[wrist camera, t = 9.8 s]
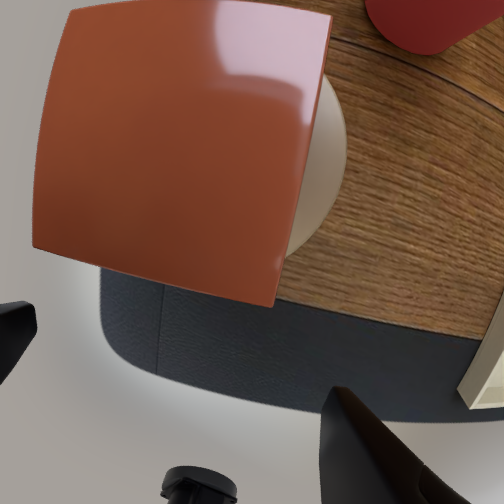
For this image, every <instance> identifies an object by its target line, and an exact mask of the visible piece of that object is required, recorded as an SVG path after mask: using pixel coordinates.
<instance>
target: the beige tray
mask: <svg viewBox="0 0 504 504" xmlns="http://www.w3.org/2000/svg"><path fill="white" fill-rule="evenodd" d="M457 390H458V392H459V393H460V395H461V397H462V398H463V400H464V401H465V403H466V405H467V406H468V408H469V409H481V408H495V407H504V292H503V294H502V297H501V299H500V302H499V304H498V307H497V309H496V312H495V314H494V316H493V319H492V321H491V323H490V326H489V328H488V330H487V332H486V334H485V337H484V339H483V341H482V343H481V345H480V347H479V349H478V351H477V353H476V355H475V357H474V359H473V361H472V363H471V364H470V366H469V368H468V370H467V372H466V374H465V375H464V377H463V379H462V381H461V382H460V384H459V386H458V388H457Z"/></svg>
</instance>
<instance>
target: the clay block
mask: <svg viewBox="0 0 504 504" xmlns="http://www.w3.org/2000/svg"><path fill="white" fill-rule="evenodd" d="M332 24H333V16H332V15H330V14H326V13H321V12H317V11H312V10H307V9H302V8H297V7H291V6H285V5H279V4H272V3H264V2H256V1H246V0H132V1H123V2H115V3H108V4H101V5H95V6H89V7H84V8H79V9H74V10H71V11H70V13H69V16H68V19H67V22H66V24H65V27H64V30H63V33H62V36H61V39H60V43H59V46H58V49H57V53H56V56H55V60H54V64H53V67H52V71H51V75H50V80H49V84H48V88H47V92H46V98H45V102H44V107H43V113H42V118H41V124H40V131H39V137H38V145H37V153H36V162H35V172H34V187H33V205H32V206H33V207H32V246H33V247H34V248H37V249H40V250H44V251H47V252H50V253H53V254H57V255H60V256H64V257H67V258H71V259H74V260H77V261H81V262H85V263H88V264H92V265H95V266H98V267H102V268H106V269H109V270H113V271H117V272H120V273H124V274H128V275H132V276H135V277H139V278H143V279H147V280H151V281H155V282H159V283H163V284H167V285H171V286H175V287H179V288H183V289H187V290H192V291H196V292H200V293H204V294H209V295H213V296H217V297H222V298H226V299H231V300H235V301H240V302H245V303H249V304H254V305H259V306H263V307H268V308H272V307H273V305H274V302H275V298H276V294H277V290H278V286H279V282H280V278H281V273H282V269H283V265H284V261H285V256H286V252H287V248H288V244H289V239H290V235H291V231H292V226H293V222H294V217H295V213H296V208H297V204H298V199H299V195H300V190H301V185H302V181H303V176H304V171H305V167H306V162H307V157H308V152H309V147H310V143H311V138H312V133H313V128H314V123H315V118H316V113H317V107H318V102H319V97H320V92H321V86H322V81H323V76H324V70H325V65H326V59H327V53H328V48H329V42H330V36H331V30H332Z"/></svg>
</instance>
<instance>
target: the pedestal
mask: <svg viewBox="0 0 504 504" xmlns="http://www.w3.org/2000/svg"><path fill="white" fill-rule="evenodd" d="M346 161H347V134H346V125H345V120H344V116H343V113H342V109H341V105H340V103H339V101H338V98H337V96H336V93H335V91H334V89H333V87H332V86H331V84H330V82H329V81H328V79H327V77H326V76H325V74H324V76H323V81H322V86H321V92H320V97H319V102H318V107H317V113H316V118H315V123H314V128H313V133H312V138H311V143H310V147H309V152H308V157H307V162H306V167H305V171H304V176H303V181H302V185H301V190H300V195H299V199H298V204H297V208H296V213H295V217H294V222H293V226H292V231H291V235H290V239H289V244H288V248H287V252H286V256H285V257H287V256H288V255H290V254H291V253H293V252H294V251H296V250H297V249H298V248H299V247H300V246H301V245H302V244H304V243H305V242H306V241H307V240H308V239H309V238H310V237H311V236H312V235H313V233H314V232H315V231H316V230H317V229H318V228H319V227H320V225H321V224H322V222H323V221H324V219H325V218H326V216H327V215H328V213H329V212H330V210H331V208H332V206H333V204H334V202H335V200H336V198H337V196H338V193H339V190H340V187H341V184H342V181H343V177H344V172H345V166H346Z"/></svg>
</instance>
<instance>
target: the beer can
mask: <svg viewBox="0 0 504 504" xmlns="http://www.w3.org/2000/svg"><path fill="white" fill-rule="evenodd" d="M365 5H366V9H367V13H368V16H369V17H370V19H371V21H372V22H373V24H374V26H375V27H376V28H377V29H378V30H379V32H380V33H381V34H382V35H383V36H384V37H385V38H386V39H388V40H389V41H391V42H392V43H393V44H395V45H396V46H398V47H399V48H402V49H404V50H407V51H409V52H411V53H414V54H422V55H433V54H437V53H440V52H442V51H444V50H445V49H447V48H448V47H450V46H452V45H453V44H455V43H457V42H458V41H460V40H461V39H463V38H465V37H466V36H468V35H470V34H471V33H473V32H475V31H477V30H478V29H480V28H482V27H483V26H485V25H487V24H489V23H490V22H492V21H494V20H496V19H497V18H499V17H501V16H503V15H504V0H365Z"/></svg>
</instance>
